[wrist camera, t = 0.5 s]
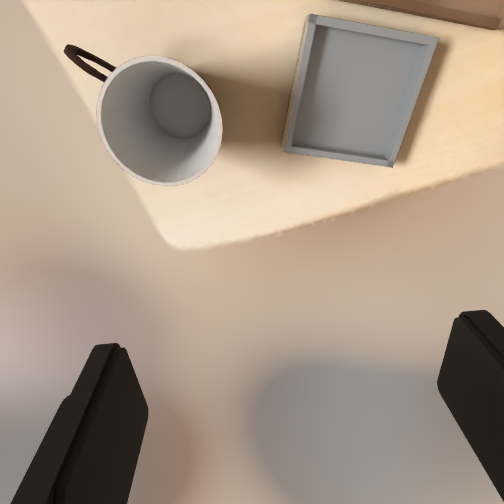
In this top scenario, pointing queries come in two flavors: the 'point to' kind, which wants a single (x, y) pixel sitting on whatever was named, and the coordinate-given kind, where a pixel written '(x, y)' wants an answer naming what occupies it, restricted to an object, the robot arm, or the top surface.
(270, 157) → the top surface
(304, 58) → the slate dish
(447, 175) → the top surface
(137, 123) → the coffee mug
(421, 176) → the top surface
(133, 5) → the top surface
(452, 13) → the walnut tray
